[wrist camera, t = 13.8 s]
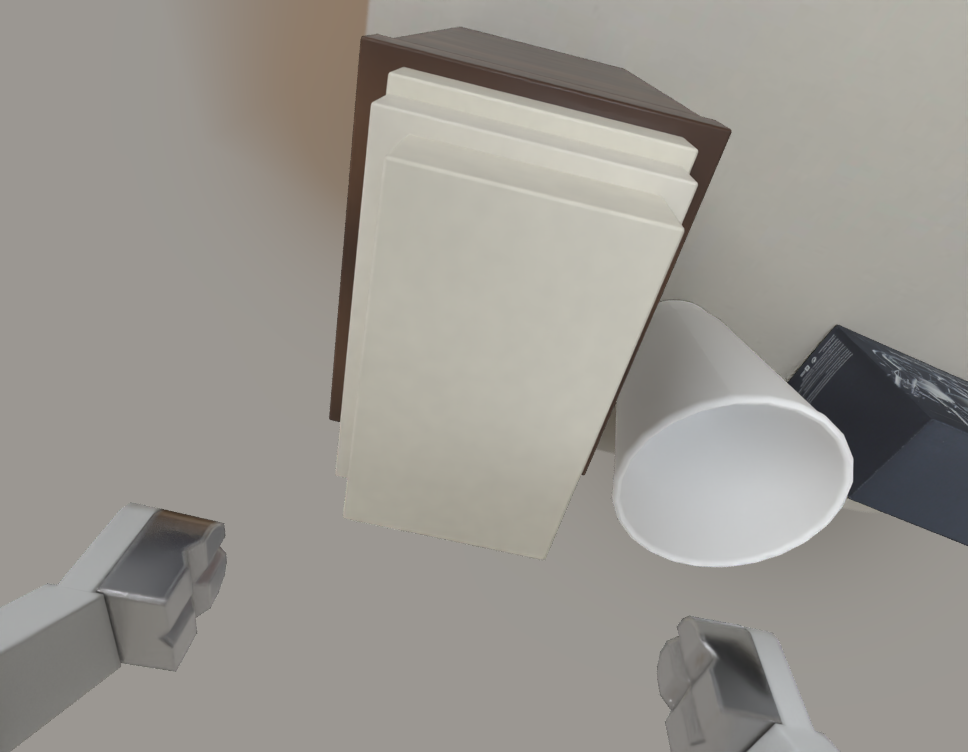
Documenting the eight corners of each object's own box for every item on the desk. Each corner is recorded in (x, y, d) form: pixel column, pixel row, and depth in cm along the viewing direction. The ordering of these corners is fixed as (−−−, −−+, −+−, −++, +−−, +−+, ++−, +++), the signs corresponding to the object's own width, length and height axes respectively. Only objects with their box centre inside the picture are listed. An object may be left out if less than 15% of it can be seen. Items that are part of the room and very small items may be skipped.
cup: (594, 413, 47) (618, 574, 33) (581, 279, 40) (604, 412, 27) (746, 397, 45) (837, 563, 31) (757, 255, 38) (876, 385, 25)
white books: (401, 66, 16) (370, 78, 13) (685, 137, 17) (718, 165, 14) (359, 417, 23) (332, 478, 20) (559, 461, 24) (563, 527, 21)
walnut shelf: (450, 24, 33) (360, 35, 16) (633, 71, 33) (733, 130, 16) (415, 250, 40) (328, 420, 23) (564, 286, 41) (584, 476, 24)
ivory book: (407, 132, 14) (383, 155, 12) (663, 195, 14) (687, 229, 12) (363, 463, 20) (341, 519, 18) (544, 502, 20) (545, 562, 18)
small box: (983, 384, 42) (1123, 499, 32) (913, 448, 46) (1019, 569, 36) (836, 320, 41) (935, 420, 31) (775, 391, 44) (845, 503, 34)
